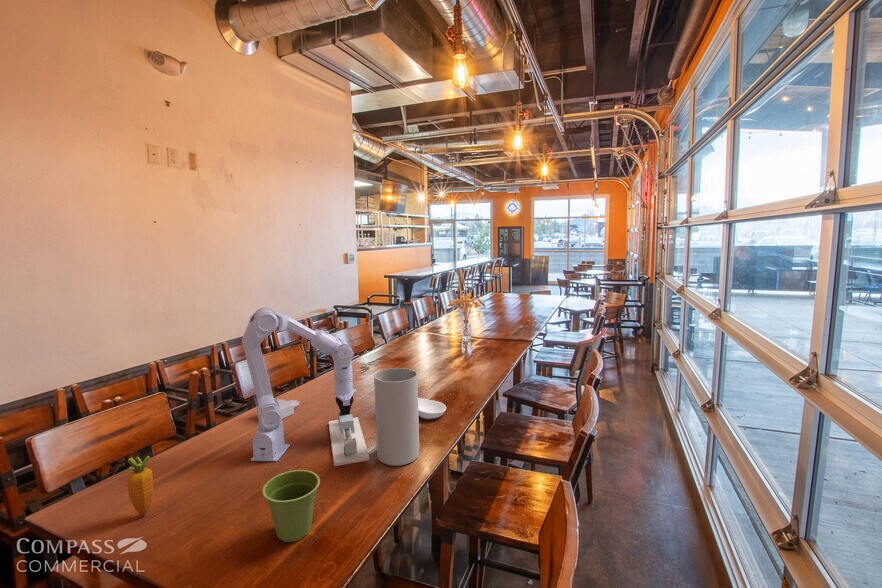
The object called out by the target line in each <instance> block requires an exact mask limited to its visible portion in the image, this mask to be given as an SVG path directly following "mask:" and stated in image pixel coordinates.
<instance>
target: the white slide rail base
mask: <svg viewBox="0 0 882 588" xmlns="http://www.w3.org/2000/svg"><path fill="white" fill-rule="evenodd" d="M339 416H341V413H340V411H338V417H339ZM353 421H354V428H355V433H351V429H350V428H348V429H343V430H344V435H340V430H339V422H340V421H339V419H334V420H329V421H328V427H329V428H328V429H329V435H330V436H329V437H330V442H331V443H330V444H331V451H332V459H333V467H338V466H343V465H348V464H354V463H360V462H367V461H370V455H369V450H368V447H367V445H366V441H365V437H364V434H363V431H362V428H361V425H360V421H359V417H358V416H357V417H353Z"/></svg>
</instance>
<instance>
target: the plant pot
mask: <svg viewBox="0 0 882 588" xmlns="http://www.w3.org/2000/svg"><path fill="white" fill-rule="evenodd" d="M320 483H321V478H320V477H319V475H318V473H315V472H313V471H312V470H305V469H295V470H289V471H284V472H282V473H279V474H277V475H275V476H273V477H272V478H271V479H269V480H268V481H267V482H266V483H265V484H264V485H263V487H262V496H263V497H264V498H265V499H266V501H267V505H268V507H269V509H270V513H271V518H272V521H273V525H274V529H275V533H276V538H278V540H280V541H282V542H284V543H292V542H293V543H294V542H297V541H300V540H302V539H303V538H304V537H305V536H307V535H309V534H310V531H311V529H312V524H313V523H312V522H313V515H314V507H315V499H316V495H317V492H318V488H319V487H320Z"/></svg>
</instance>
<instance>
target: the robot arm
mask: <svg viewBox="0 0 882 588" xmlns="http://www.w3.org/2000/svg"><path fill="white" fill-rule="evenodd" d="M276 330H277V332H282V331H283V332H285V331H288V332H291V333H293V334H295V335H297V336H300V337H302V338H303V339H304V338H305V339H306V340H308V341H310V344H311V347H312V348H315V349H316V350H319V351H321V352H322V353H324V354H327V355H329V356H332V357H333V375H334V380H333V381H334V397H335V398H334V399H335V403H336V405H337V406H338V408H339V412H340V413H341V416H343V415H350V414H351V409H352V405H353V403H354V400H355V399H354V394H357V393H358V392H357V389H354V383H353V381H354V379H353V378H354V377H353V364H352V359H353V357H354V354H355V352H354V351H353V348H352V346H350V344H349V343H347V342H346V341H344V340H343V339H342V338H341V337H336V336H334V335H331V334H330V331H328V330H321V329H320V330H319V329H318V330H316V331H315V330H313V329H312V328H309V327H308V326H306V325H304V324H303V323H301V322H299V321H297V320H296V319H294V318H292V317H290V316H289V315H286V314H284V313H282V312H279V311H276V310H275V311H274V310H273V309H272V308H269V307H260V308H258V309H257V310H256V311H255V312H254V313H253V314H252V315H251V316H250V318H249V320H248V323H247V326H246V328H245V330H244V333H243V334H242V335H243V336H242V339H241V342H242V347H243V351H244V355H245V358H246V363H247V366H248V371H249V374H250V377H251V382H252V385H253V388H254V389H253V390H254V393H255V395H256V400H257V401H256V402H257V404H258V405H257V407H258V408H257V407H256V412H257V411H258V415H259V419H258V422H257V423H256V427H257V429H256V434H255V435H254V437H253V439H252V450H253V451H252V453H253V457H251V458H250V461H251V462H277V461H279V459H281V457H282V456H283V455H284V453H286V451H287V450H288V449H289V448H290V446H291V444H290V443H285V431H284V421H283V419H282V414H281V412H280V409H279V404H278V402H277V401H276V400H277V399H275V397H274V393H273V391H272V387H271V386H272V385H271V382H270V377H269V375H268V374H269V373H268V370H267V368H266V367H267V366H266V363H265V359H264V355H263V352H262V347H261V344H262V342H263V341H264V340H265V339H266V337H267V336H269V335H270V334H272V333H273V332H275V331H276Z"/></svg>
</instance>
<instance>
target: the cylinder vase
mask: <svg viewBox="0 0 882 588" xmlns="http://www.w3.org/2000/svg"><path fill="white" fill-rule="evenodd" d="M418 375H419V374H418V372H417V371H416V370H414V369H411V368H406V367H405V368H404V367H395V368H394V367H393V368H392V367H391V368H386V369H382V370H379V371H377V372H376V373H374V375H373V376H374V377H373V381H374V404H375V405H374V407H375V429H376V431H375V434H376V437H375V438H376V455H377V457H376V458H377V459H378V461H380V462H381V463H382V464H384V465H388V466H393V467H394V466H395V467H397V466H399V467H400V466H404V465H408V464H410V463H413V462H414V461H415V460H417V458H418V457H419V456H420V421H419V420H420V419H419V417H420V416H419V414H418V398H419V386H418V385H419V380H418Z"/></svg>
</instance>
